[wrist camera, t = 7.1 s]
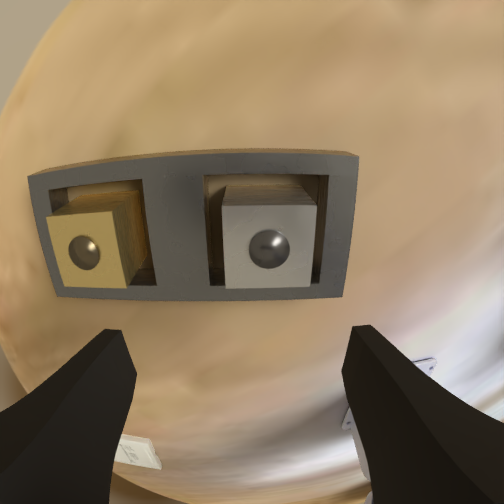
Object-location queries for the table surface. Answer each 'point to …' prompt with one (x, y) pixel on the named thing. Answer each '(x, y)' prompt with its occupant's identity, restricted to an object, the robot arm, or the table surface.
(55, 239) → the tan wooden cube
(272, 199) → the cube with domed knob
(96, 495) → the robot arm
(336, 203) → the grey rectangular slotted frame
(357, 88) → the table surface
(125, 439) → the external hard drive
